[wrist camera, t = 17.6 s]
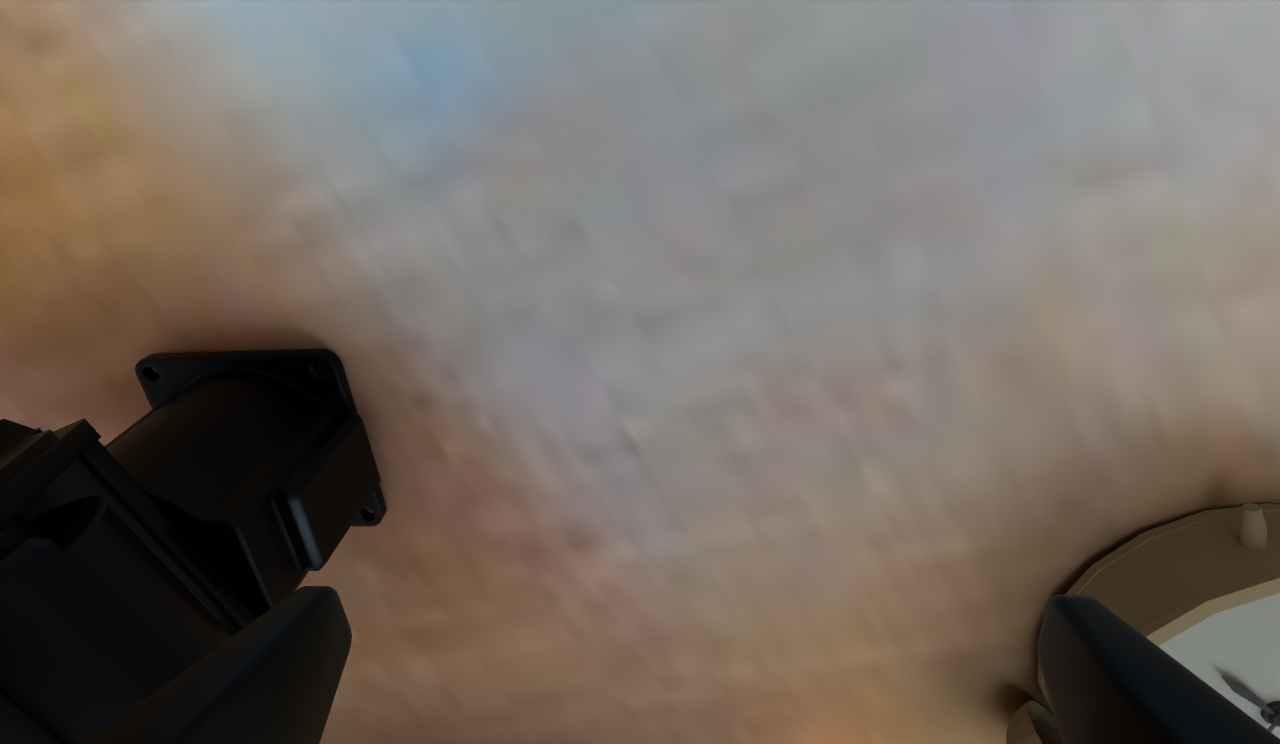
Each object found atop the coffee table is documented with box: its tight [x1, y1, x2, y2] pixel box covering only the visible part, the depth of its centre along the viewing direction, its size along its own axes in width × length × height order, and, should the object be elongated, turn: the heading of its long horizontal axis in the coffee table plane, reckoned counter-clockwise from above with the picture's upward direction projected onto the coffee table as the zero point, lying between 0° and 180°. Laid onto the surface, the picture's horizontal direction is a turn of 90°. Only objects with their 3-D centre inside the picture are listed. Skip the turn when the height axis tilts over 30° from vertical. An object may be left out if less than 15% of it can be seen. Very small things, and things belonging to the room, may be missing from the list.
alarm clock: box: [1006, 503, 1280, 744], centre depth 23 cm, size 11×5×15 cm
